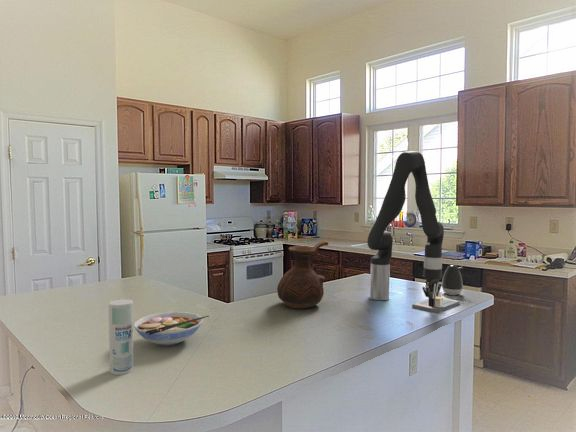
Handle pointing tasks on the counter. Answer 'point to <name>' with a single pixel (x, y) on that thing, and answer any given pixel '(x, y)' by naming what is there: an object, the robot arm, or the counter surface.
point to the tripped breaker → (438, 302)
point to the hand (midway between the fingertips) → (431, 306)
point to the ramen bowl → (168, 327)
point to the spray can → (121, 336)
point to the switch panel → (425, 306)
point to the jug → (302, 280)
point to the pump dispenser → (452, 280)
